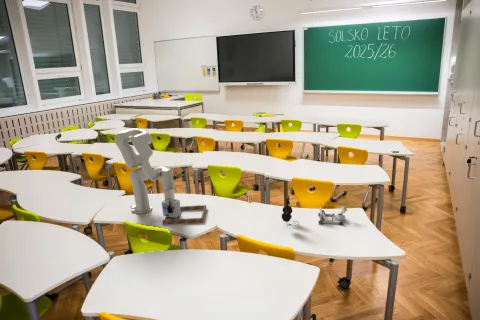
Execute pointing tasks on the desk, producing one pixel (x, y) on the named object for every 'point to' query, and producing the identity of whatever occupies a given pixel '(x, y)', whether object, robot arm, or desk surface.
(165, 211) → the light bulb box
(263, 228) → the desk surface
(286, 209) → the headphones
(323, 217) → the toy car
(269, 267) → the desk surface
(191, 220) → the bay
